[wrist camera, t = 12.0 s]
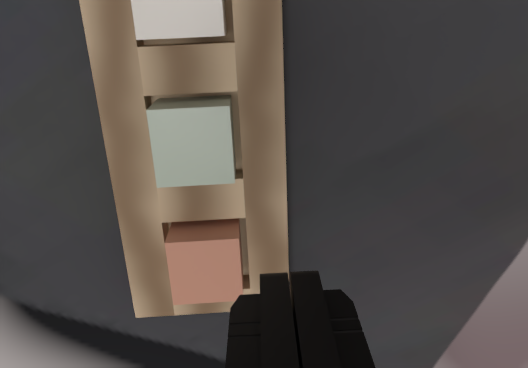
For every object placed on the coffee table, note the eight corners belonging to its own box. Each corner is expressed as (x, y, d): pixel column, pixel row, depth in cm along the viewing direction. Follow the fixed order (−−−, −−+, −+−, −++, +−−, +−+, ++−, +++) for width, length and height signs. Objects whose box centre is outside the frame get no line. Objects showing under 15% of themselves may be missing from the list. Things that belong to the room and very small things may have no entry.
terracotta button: (239, 213, 33) (238, 238, 30) (243, 270, 35) (243, 300, 31) (173, 217, 33) (164, 243, 30) (180, 274, 35) (173, 305, 31)
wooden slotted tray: (275, -100, 27) (278, -111, 24) (286, 289, 37) (289, 307, 35) (76, -92, 26) (60, -103, 24) (142, 298, 36) (135, 317, 34)
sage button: (231, 94, 30) (229, 105, 26) (235, 163, 32) (235, 183, 28) (157, 98, 30) (146, 110, 26) (166, 167, 32) (156, 187, 28)
